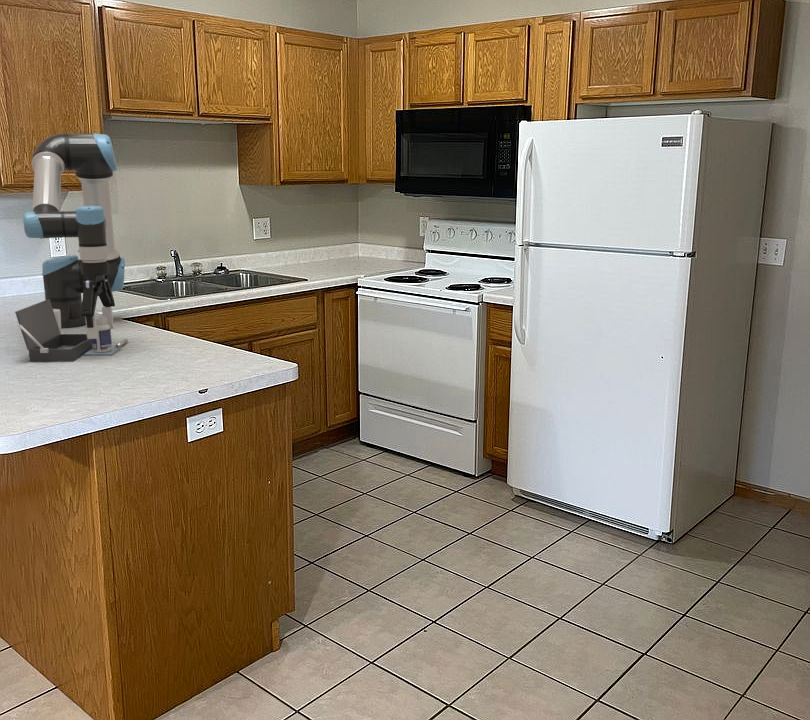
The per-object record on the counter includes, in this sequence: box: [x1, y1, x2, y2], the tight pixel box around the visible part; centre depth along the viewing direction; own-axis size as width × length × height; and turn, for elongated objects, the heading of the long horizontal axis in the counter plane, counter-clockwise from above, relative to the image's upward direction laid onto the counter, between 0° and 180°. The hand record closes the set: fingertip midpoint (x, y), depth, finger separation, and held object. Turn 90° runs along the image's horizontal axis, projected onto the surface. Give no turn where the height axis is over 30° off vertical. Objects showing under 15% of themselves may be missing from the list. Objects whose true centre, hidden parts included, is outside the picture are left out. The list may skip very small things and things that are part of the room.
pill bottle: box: [92, 316, 113, 352], centre depth 238 cm, size 5×5×10 cm
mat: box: [83, 347, 122, 357], centre depth 239 cm, size 8×8×1 cm
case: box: [14, 299, 93, 363], centre depth 237 cm, size 22×15×14 cm, turn 1°
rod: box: [115, 338, 129, 348], centre depth 249 cm, size 8×1×1 cm, turn 1°
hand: (100, 333), depth 238 cm, fingers open, 13 cm apart
